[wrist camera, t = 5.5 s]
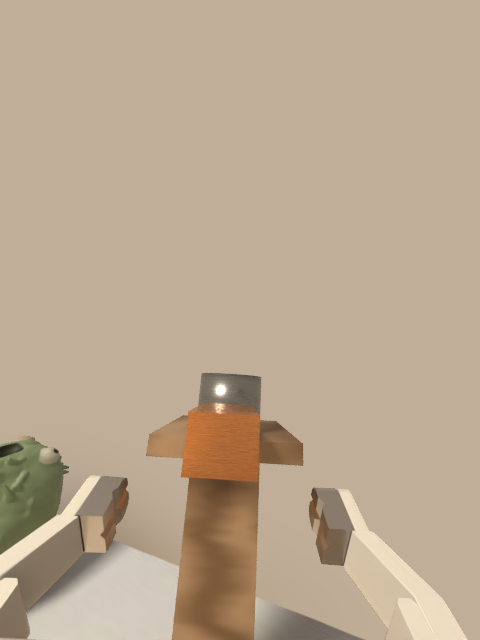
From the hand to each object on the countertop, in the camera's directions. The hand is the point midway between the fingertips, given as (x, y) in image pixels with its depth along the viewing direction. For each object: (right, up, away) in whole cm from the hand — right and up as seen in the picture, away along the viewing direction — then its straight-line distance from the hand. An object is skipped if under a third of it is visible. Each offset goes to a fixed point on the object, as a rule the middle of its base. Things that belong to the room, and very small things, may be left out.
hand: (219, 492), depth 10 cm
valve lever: (0, -1, +7) cm, 7 cm away
